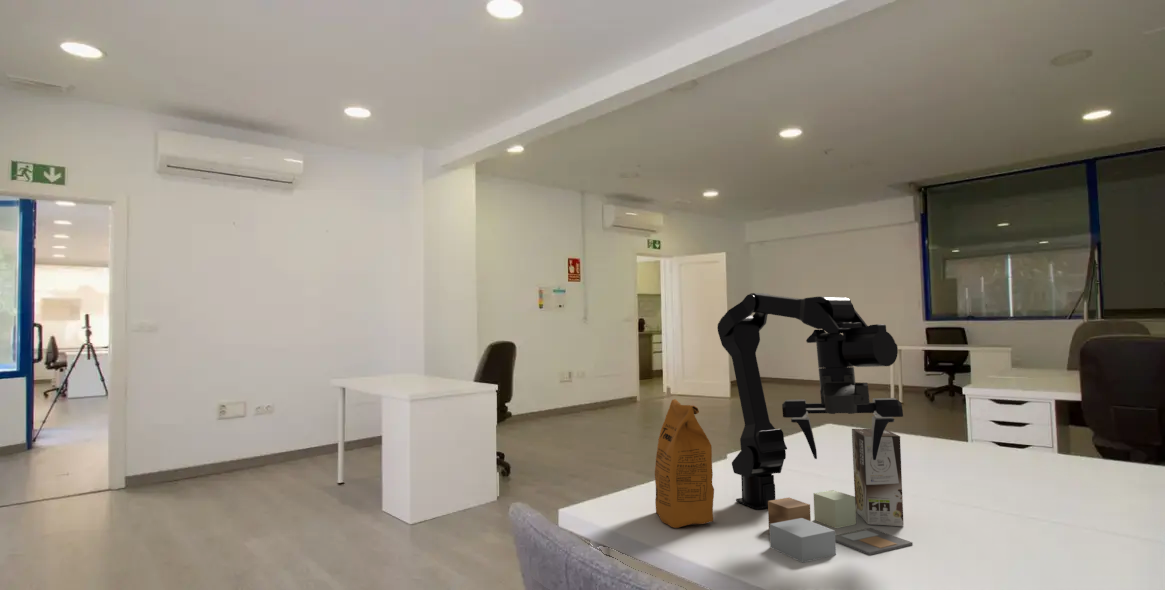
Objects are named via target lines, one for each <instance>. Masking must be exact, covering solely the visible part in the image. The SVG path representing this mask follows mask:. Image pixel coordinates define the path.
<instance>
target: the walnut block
mask: <svg viewBox="0 0 1165 590" xmlns="http://www.w3.org/2000/svg"><path fill="white" fill-rule="evenodd" d="M767 517H768V518H767V519H768V530H770V524H772V523H777V522H783V521H788V520H793V519H799V518H803V519H806V520H809V521H811V522H812V519H811V504H809V503H806V502H803V501H801V500H797V499H795V498H792V497H784V498H777V499H775V500H771V501H768V508H767Z"/></svg>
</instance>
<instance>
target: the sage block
mask: <svg viewBox="0 0 1165 590" xmlns="http://www.w3.org/2000/svg"><path fill="white" fill-rule="evenodd" d="M813 514H814V516H813V517H814V518H813V519H814V521H815V522H819V523H821V524H824V525H826V526H829V527H832V528H835V529H839V528H844V527H848V526H855V525H856V524H857V515H856V514H857V512H856V509H855V495H851V494H847V493H844V492H841V491H837V490H834V489H832V490H826V491H819V492H814V493H813Z"/></svg>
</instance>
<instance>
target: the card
mask: <svg viewBox="0 0 1165 590" xmlns="http://www.w3.org/2000/svg"><path fill="white" fill-rule="evenodd" d="M835 542H836V543H838V544H840V545H843V546H846V547H849V548H851V549H853V550H855V551H858V552H861V553H864V554H866V555H868V556H871V555H876V554H880V553H886V552H889V551H893V550H897V549H901V548H906V547H910V546H913V543H914V542H913V541H909V540H907V539H904V538H900V537H898V536H895V535H893V534H889V533H886V532H884V531H881V530H877V529H875V528H872V527H868V528H864V529H859V530H854V531H848V532H845V533H839V534H835Z"/></svg>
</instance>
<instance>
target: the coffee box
mask: <svg viewBox="0 0 1165 590" xmlns="http://www.w3.org/2000/svg"><path fill="white" fill-rule="evenodd" d="M851 445H852V446H851V447H852V463H853V464H852V466H853V467H852V468H853V484H854V485H853V486H854V488H853V489H854V497H855V509H856V514H858V515H859V516H860V518H862V519H863V521H865V523H866V524H867V525H873V526H888V527H889V526H890V527H891V526H892V527H904V504H903V501H904V499H903V481H902V480H903V479H902V478H903V477H902V450H901V436H900V435H899V434H896V433H894V432H892V431H890V430H888V429H886V428H885V429H884V432H883V434H882V437H881V441H880V445H879V449H878V453H877V457H876V460H873V457H872V428H851Z"/></svg>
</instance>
